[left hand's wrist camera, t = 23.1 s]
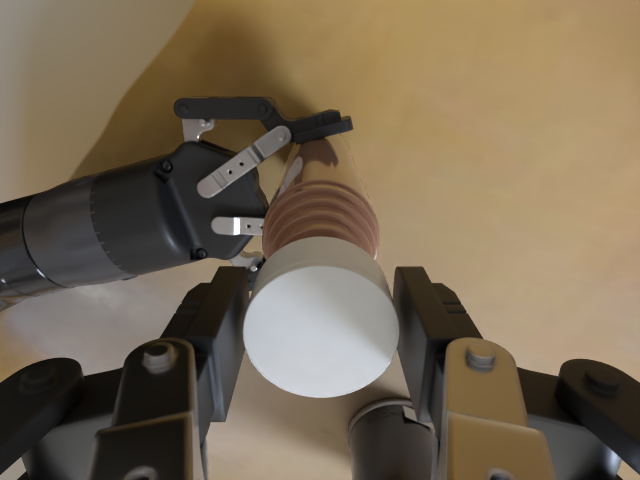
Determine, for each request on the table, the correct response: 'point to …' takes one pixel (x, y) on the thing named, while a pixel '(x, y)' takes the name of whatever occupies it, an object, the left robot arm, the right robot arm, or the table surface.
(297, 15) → the table surface
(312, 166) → the bottle
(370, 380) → the cap
